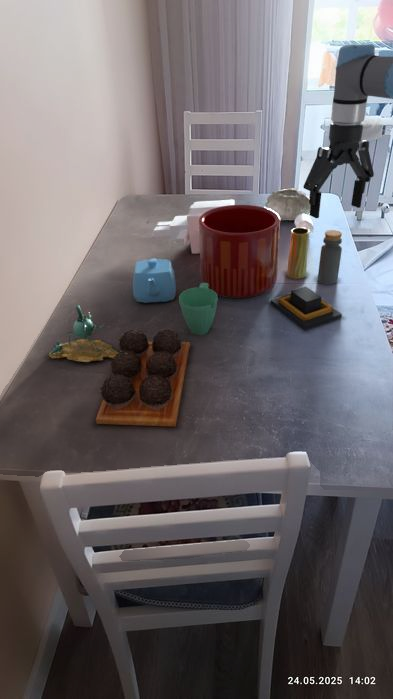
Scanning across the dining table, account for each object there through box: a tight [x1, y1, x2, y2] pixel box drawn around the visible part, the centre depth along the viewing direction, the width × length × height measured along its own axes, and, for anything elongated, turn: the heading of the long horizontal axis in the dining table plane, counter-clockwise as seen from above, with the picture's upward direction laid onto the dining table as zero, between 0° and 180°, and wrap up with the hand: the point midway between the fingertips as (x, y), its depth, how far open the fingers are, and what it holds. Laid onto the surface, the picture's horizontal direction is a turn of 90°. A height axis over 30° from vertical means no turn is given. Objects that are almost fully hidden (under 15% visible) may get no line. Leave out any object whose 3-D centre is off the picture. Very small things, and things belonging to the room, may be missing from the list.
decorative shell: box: [264, 187, 311, 221], centre depth 186 cm, size 18×18×10 cm
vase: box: [286, 227, 310, 280], centre depth 146 cm, size 6×6×14 cm
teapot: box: [132, 257, 177, 304], centre depth 138 cm, size 12×18×12 cm
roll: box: [293, 214, 315, 236], centre depth 174 cm, size 6×12×6 cm, turn 178°
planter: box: [199, 204, 281, 299], centre depth 142 cm, size 23×23×20 cm
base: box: [269, 293, 343, 331], centre depth 132 cm, size 16×12×2 cm
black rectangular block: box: [290, 286, 323, 315], centre depth 131 cm, size 7×5×4 cm
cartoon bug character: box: [48, 305, 120, 363], centre depth 117 cm, size 10×18×15 cm, turn 80°
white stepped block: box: [153, 199, 235, 254], centre depth 167 cm, size 15×25×28 cm
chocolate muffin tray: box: [95, 328, 191, 428], centre depth 108 cm, size 28×17×8 cm, turn 175°
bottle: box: [317, 229, 343, 285], centre depth 142 cm, size 6×6×15 cm
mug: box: [178, 282, 219, 336], centre depth 126 cm, size 15×10×10 cm
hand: (335, 211), depth 125 cm, fingers open, 13 cm apart
